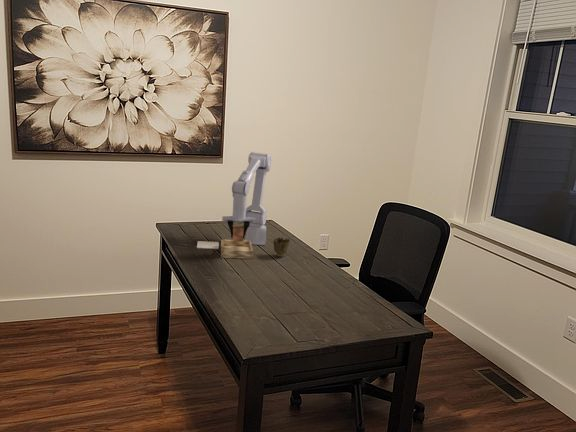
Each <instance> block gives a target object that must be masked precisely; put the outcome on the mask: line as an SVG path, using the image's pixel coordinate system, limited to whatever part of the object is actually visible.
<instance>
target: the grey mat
mask: <svg viewBox="0 0 576 432" xmlns="http://www.w3.org/2000/svg"><path fill="white" fill-rule="evenodd" d="M219 244H220V242H219V241H203V240H202V241H201V240H200V241H199V240H197V244H196V248H197V249H203V250H204V249H207V250H208V249H210V250H220V249H219V248H220V247H219V246H220V245H219Z"/></svg>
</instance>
